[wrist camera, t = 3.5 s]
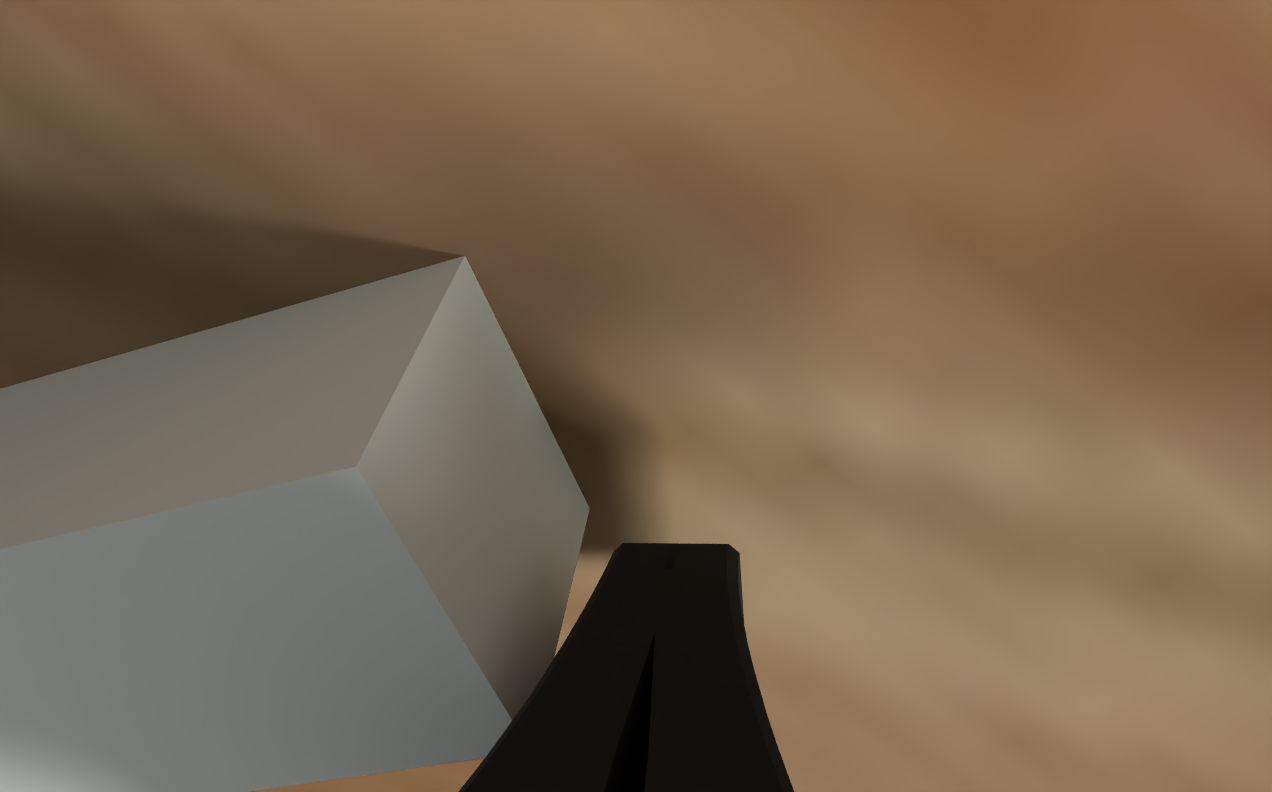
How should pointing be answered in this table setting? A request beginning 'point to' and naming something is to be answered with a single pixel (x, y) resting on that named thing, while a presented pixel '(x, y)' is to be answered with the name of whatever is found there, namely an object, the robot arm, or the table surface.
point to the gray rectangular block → (280, 548)
